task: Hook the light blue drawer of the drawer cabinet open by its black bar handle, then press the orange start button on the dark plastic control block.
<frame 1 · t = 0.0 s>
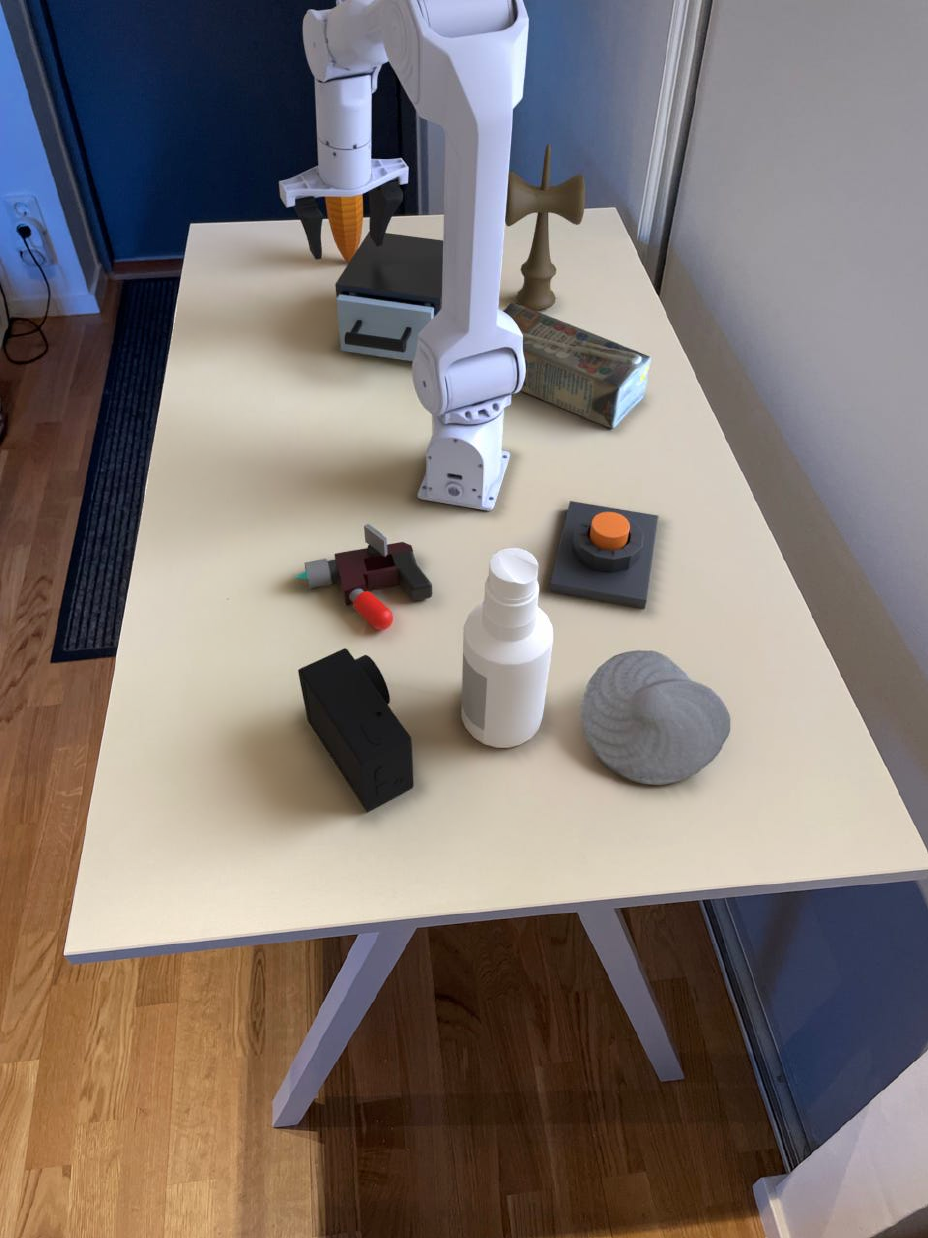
hand: (346, 247, 108), 11 cm above the table, tool pointing down, fingers open, 7 cm apart
digital camera: (366, 751, 75), on the table
kendama: (535, 304, 121), on the table
beverage carton: (558, 388, 109), on the table
carrot: (349, 263, 128), on the table
white plastic bottle: (501, 717, 77), on the table
seashell: (645, 736, 76), on the table
light blue drawer: (394, 314, 111), point 4 cm above the table, slide at 0.5 cm
start button: (609, 531, 87), point 3 cm above the table, slide at 0.1 cm
toy gun: (365, 600, 86), on the table
drawer cabinet: (405, 327, 117), on the table
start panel: (604, 556, 90), on the table
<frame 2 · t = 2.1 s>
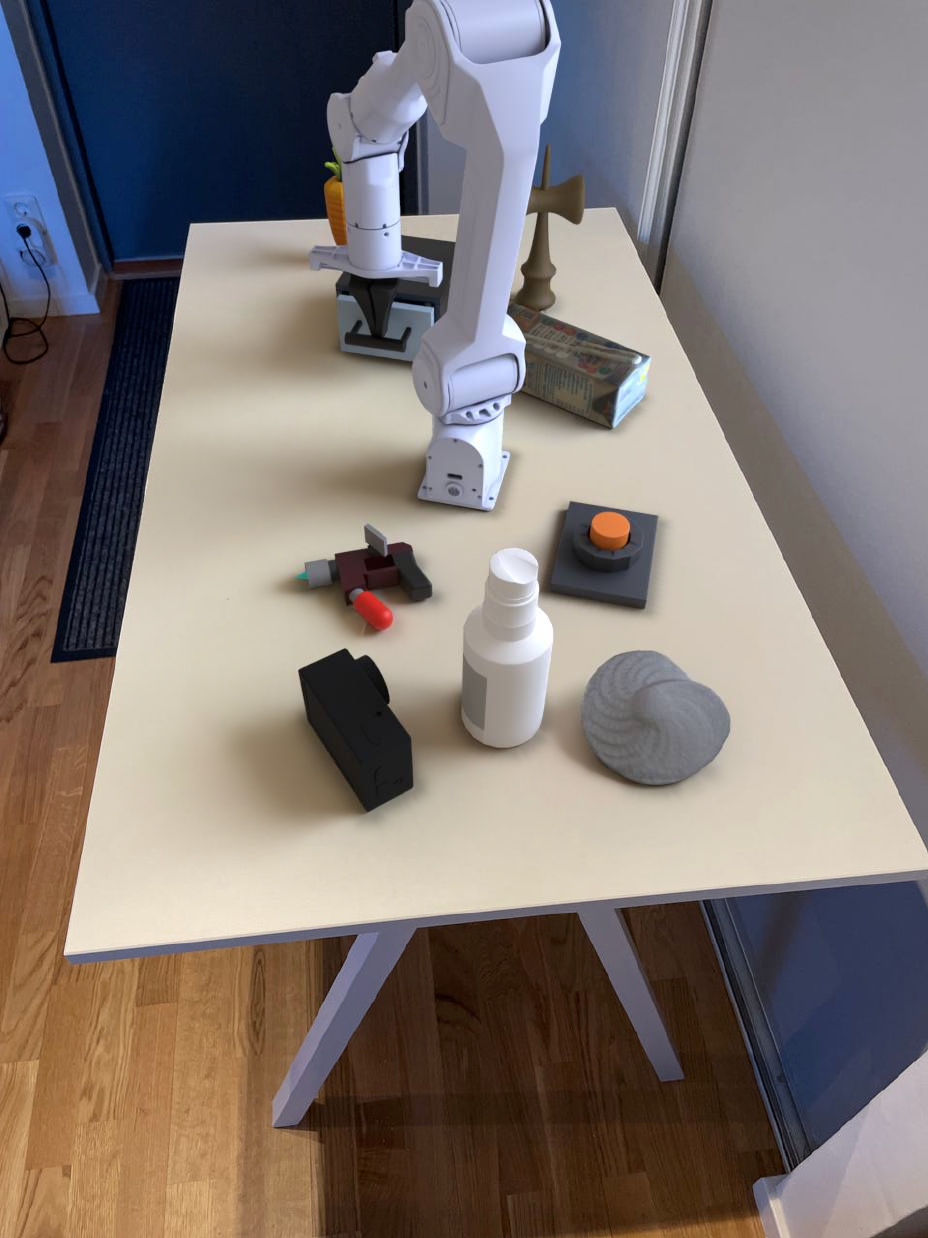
hand: (379, 333, 106), 5 cm above the table, tool pointing down, fingers closed, pressing on light blue drawer
light blue drawer: (394, 314, 111), point 4 cm above the table, slide at 0.5 cm, touching gripper
everything else where it was.
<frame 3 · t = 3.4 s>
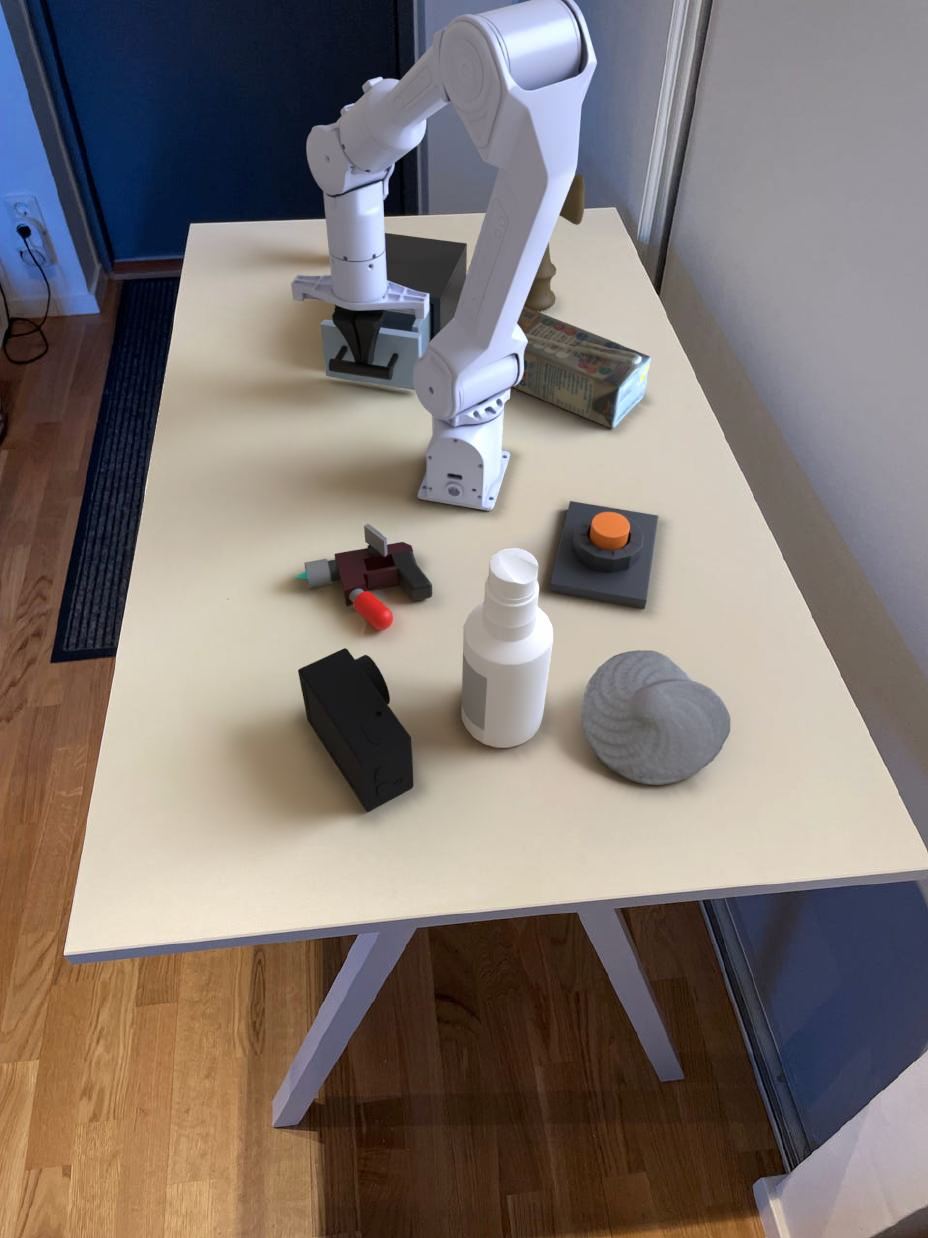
hand: (365, 364, 103), 5 cm above the table, tool pointing down, fingers closed, pressing on light blue drawer
light blue drawer: (381, 338, 107), point 4 cm above the table, slide at 6.1 cm, touching gripper
everything else where it was.
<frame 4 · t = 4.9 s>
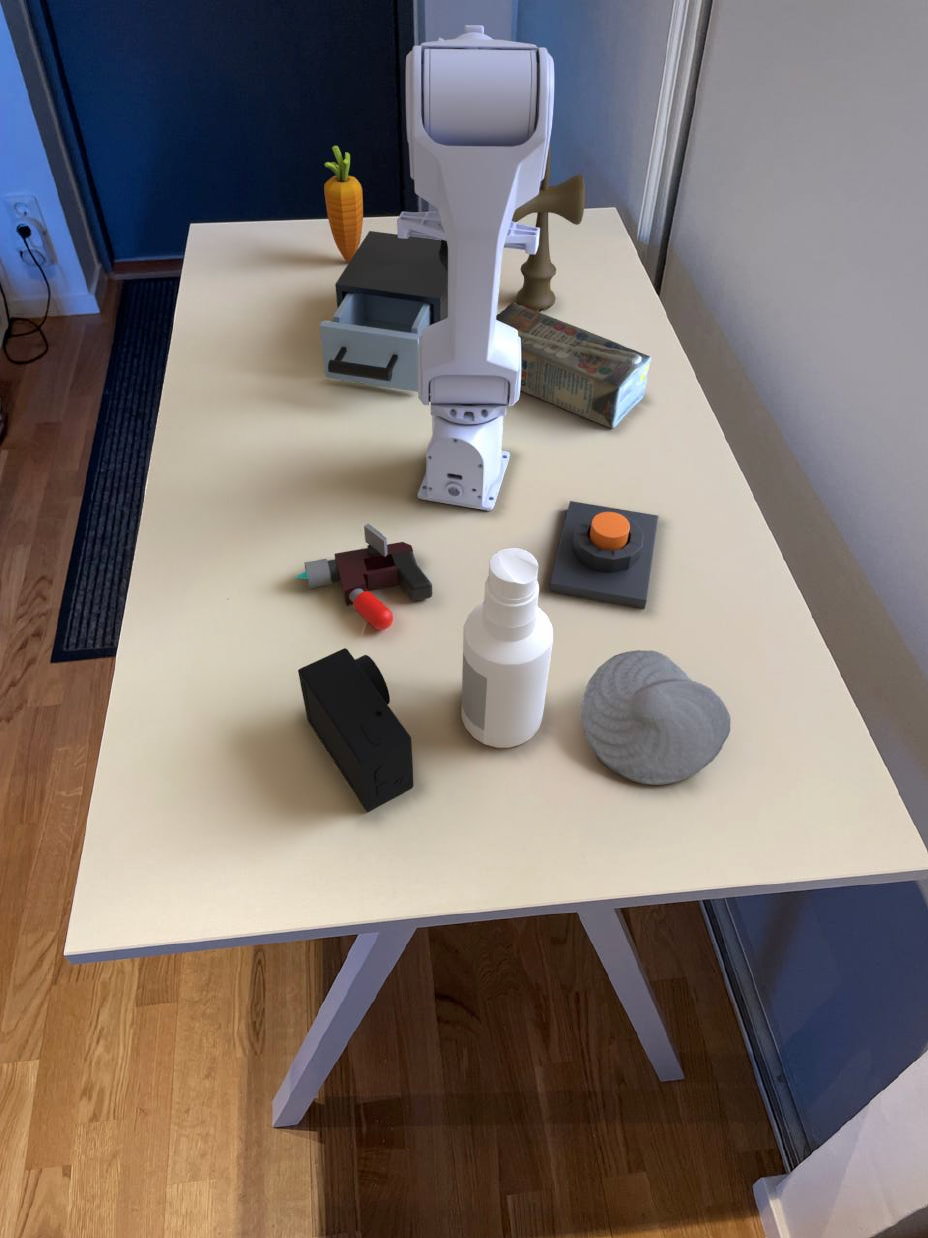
hand: (466, 306, 100), 10 cm above the table, tool pointing down, fingers closed
light blue drawer: (380, 340, 107), point 4 cm above the table, slide at 6.3 cm
everything else where it was.
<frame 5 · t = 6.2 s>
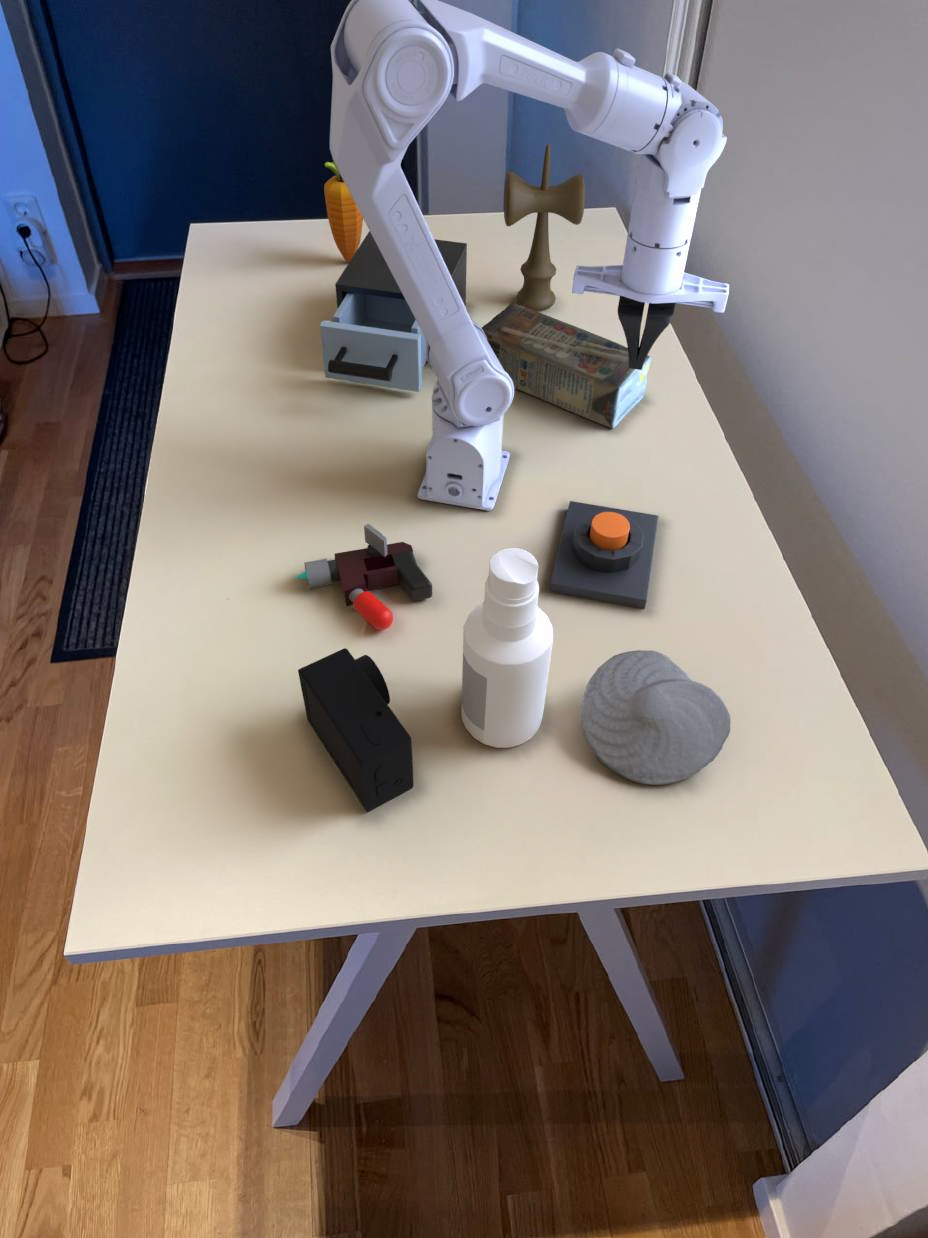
hand: (636, 363, 94), 10 cm above the table, tool pointing down, fingers closed
nothing on the table moved.
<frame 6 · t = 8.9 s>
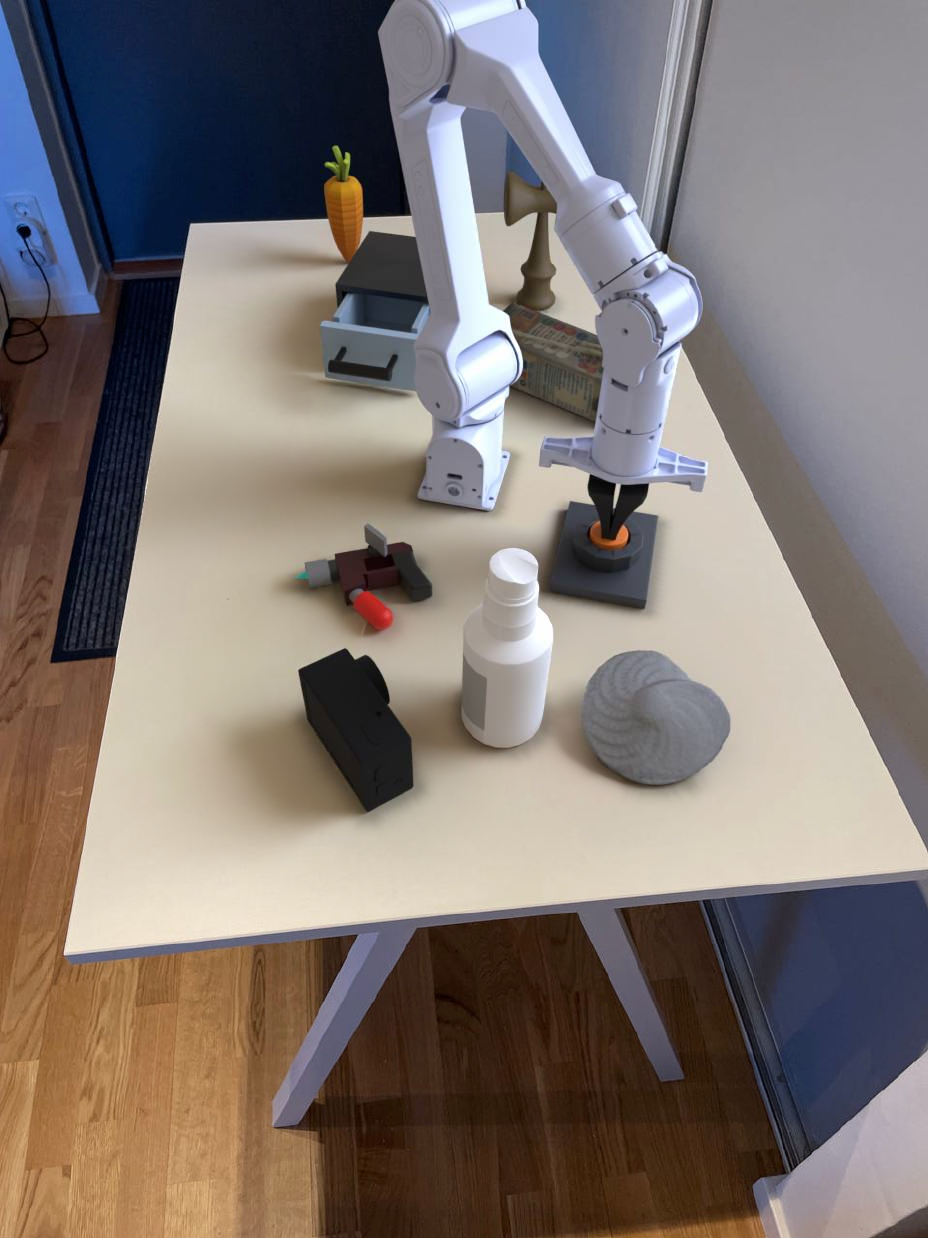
hand: (609, 532, 87), 3 cm above the table, tool pointing down, fingers closed, pressing on start button
start button: (608, 538, 88), point 2 cm above the table, slide at -0.9 cm, touching gripper
everything else where it was.
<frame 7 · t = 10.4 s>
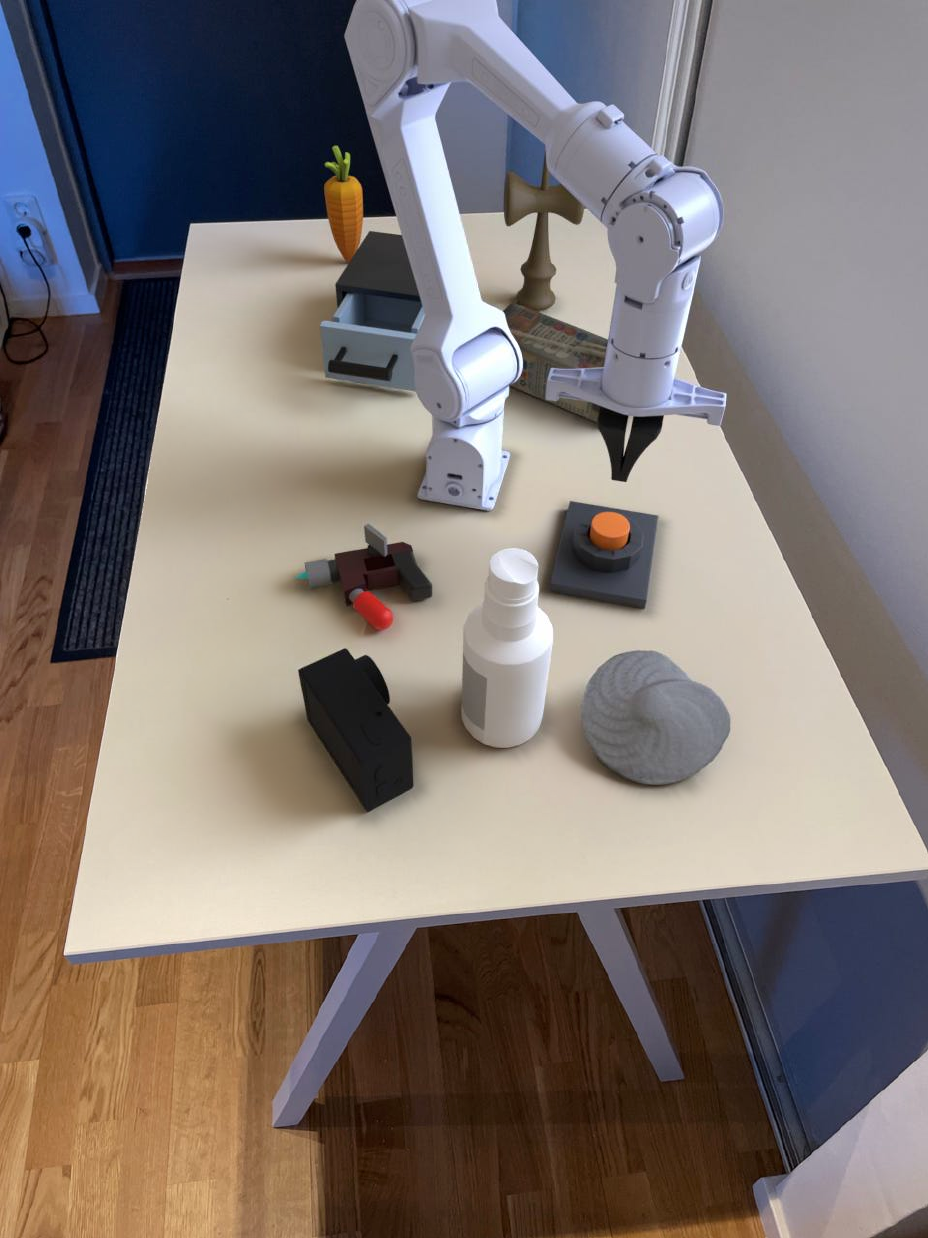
hand: (620, 474, 82), 10 cm above the table, tool pointing down, fingers closed
start button: (609, 531, 87), point 3 cm above the table, slide at 0.1 cm
everything else where it was.
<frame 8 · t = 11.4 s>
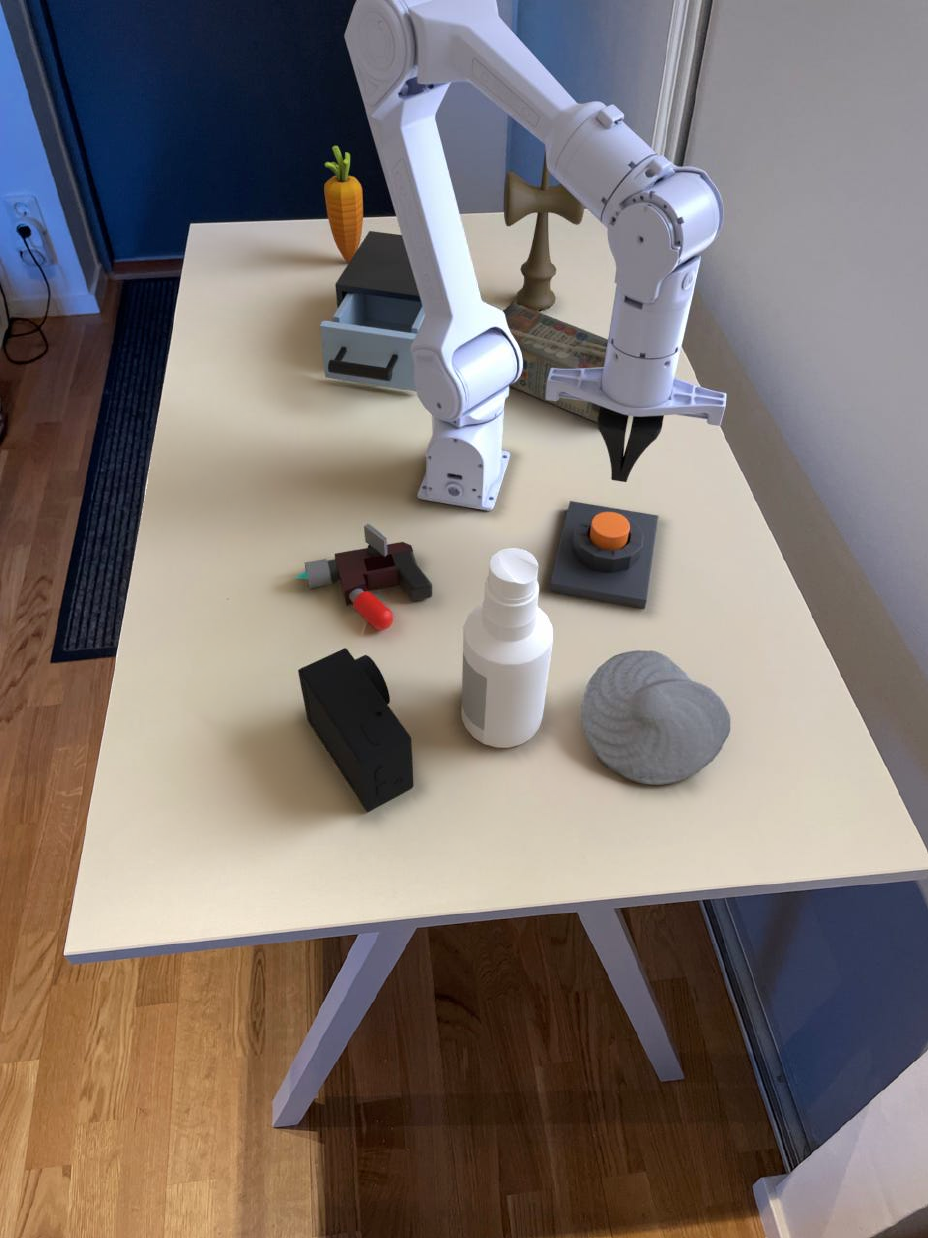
hand: (620, 474, 82), 10 cm above the table, tool pointing down, fingers closed
nothing on the table moved.
at the end: light blue drawer slide at 6.3 cm; start button pushed in 1.2 cm at the most during the clip, back to where it started at the end; start button slide at 0.1 cm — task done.
